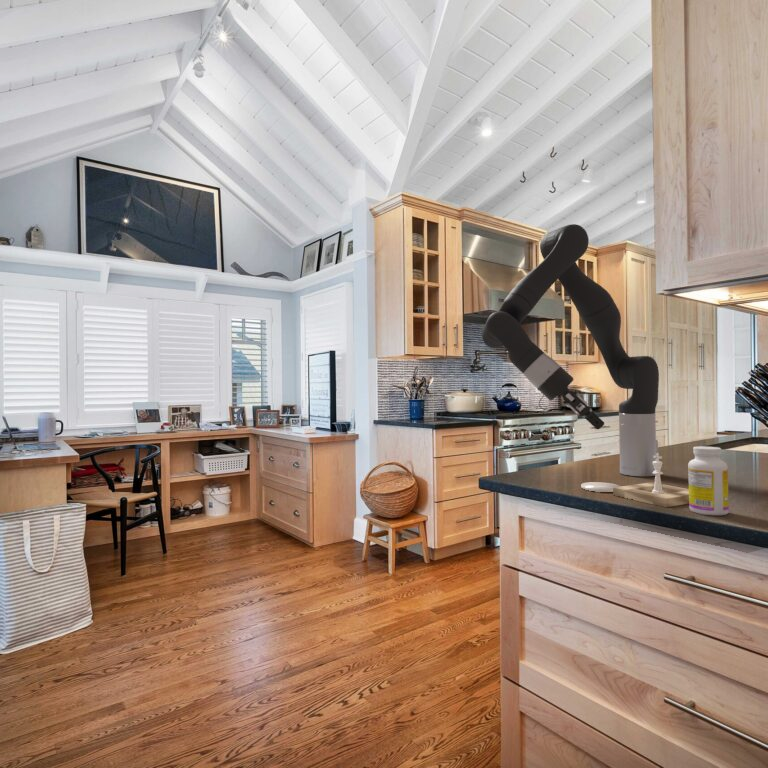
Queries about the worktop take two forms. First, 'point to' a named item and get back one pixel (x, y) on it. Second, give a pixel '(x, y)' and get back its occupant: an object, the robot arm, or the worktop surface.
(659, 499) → the pocket block
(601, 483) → the coaster
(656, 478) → the chess piece
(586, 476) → the worktop surface
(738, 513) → the worktop surface
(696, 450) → the supplement bottle
